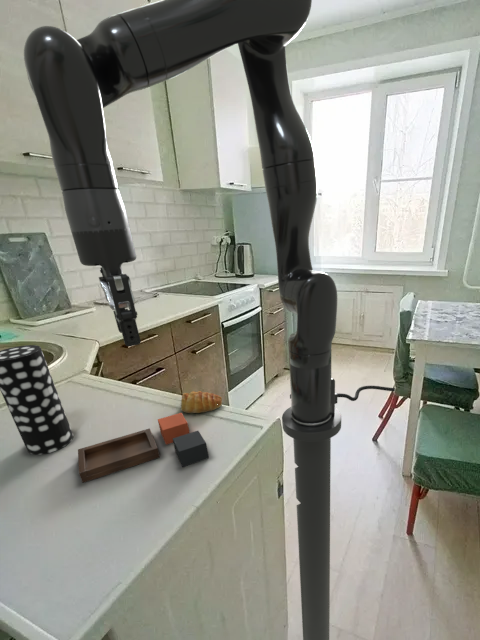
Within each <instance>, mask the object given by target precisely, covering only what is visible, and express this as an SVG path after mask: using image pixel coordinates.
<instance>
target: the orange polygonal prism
mask: <svg viewBox="0 0 480 640" xmlns="http://www.w3.org/2000/svg"><path fill="white" fill-rule="evenodd" d="M157 423H158V427H159V431H160V435H161V437H162V439H163V441H164V444H165V445H170V444H174V443H173V438H176V437H179V436H182V435H185V434H188V433H191V432H190V428H189V423H188V421H187V419H186V418H185V416H184V414H183V413H182V412H179V413H178V412H177V413H175V414H171V415H167V416H164V417H161V418H158V419H157Z"/></svg>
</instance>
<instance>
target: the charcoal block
mask: <svg viewBox="0 0 480 640" xmlns="http://www.w3.org/2000/svg"><path fill="white" fill-rule="evenodd" d="M172 444H173V447H174V451H175V452H174V453H175V455H176V458H177V459H178V461H179V463H180V465H181V467H182V468H185V467H188V466H190V465H194V464H197V463H199V462H203V461H204V460H207V459H209V458H210V456H209V451H208V446H207V442H206V440H205V439H204V437H203V435H202V434H201V432H200V431H199V430H195V431H192V432H190V433H188V434H185V435H182V436H179V437H176V438H173V443H172Z"/></svg>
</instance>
